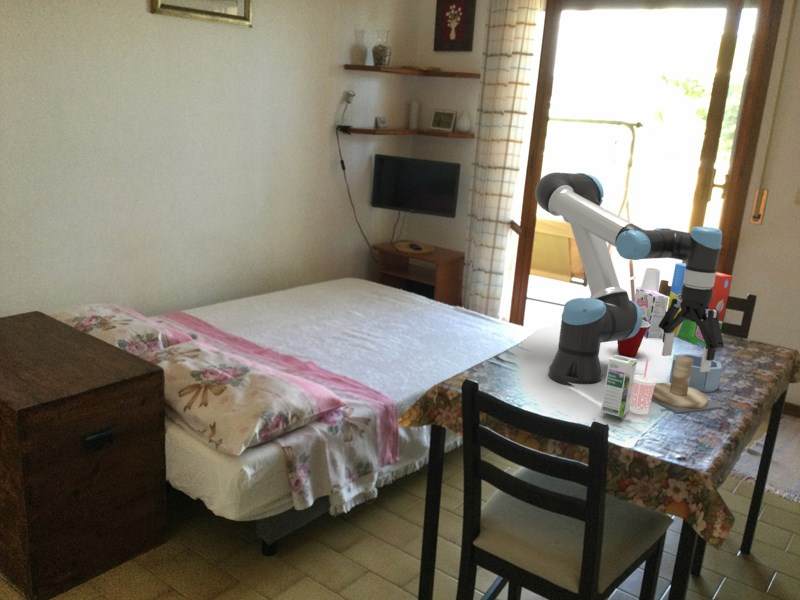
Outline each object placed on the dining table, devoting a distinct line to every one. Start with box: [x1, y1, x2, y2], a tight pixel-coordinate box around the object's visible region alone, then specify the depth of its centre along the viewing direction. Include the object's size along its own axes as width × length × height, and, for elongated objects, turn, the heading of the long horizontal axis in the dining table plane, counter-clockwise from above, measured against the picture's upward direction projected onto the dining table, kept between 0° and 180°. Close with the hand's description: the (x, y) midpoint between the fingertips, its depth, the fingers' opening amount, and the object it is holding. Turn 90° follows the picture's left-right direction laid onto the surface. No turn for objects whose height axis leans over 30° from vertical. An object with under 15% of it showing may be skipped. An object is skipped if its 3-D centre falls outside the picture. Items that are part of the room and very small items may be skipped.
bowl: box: [669, 353, 723, 393], centre depth 199 cm, size 13×13×7 cm
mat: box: [651, 398, 723, 415], centre depth 186 cm, size 16×16×1 cm
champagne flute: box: [640, 267, 661, 292], centre depth 250 cm, size 7×7×24 cm
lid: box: [652, 356, 709, 409], centre depth 184 cm, size 15×15×12 cm
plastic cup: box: [616, 320, 650, 358], centre depth 222 cm, size 11×11×12 cm
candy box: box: [633, 286, 670, 339], centre depth 247 cm, size 14×6×16 cm, turn 7°
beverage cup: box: [629, 359, 658, 416], centre depth 174 cm, size 6×6×14 cm
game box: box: [662, 262, 733, 349], centre depth 240 cm, size 21×6×27 cm, turn 23°
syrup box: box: [600, 354, 638, 419], centre depth 172 cm, size 6×6×14 cm
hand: (684, 363), depth 183 cm, fingers open, 13 cm apart
